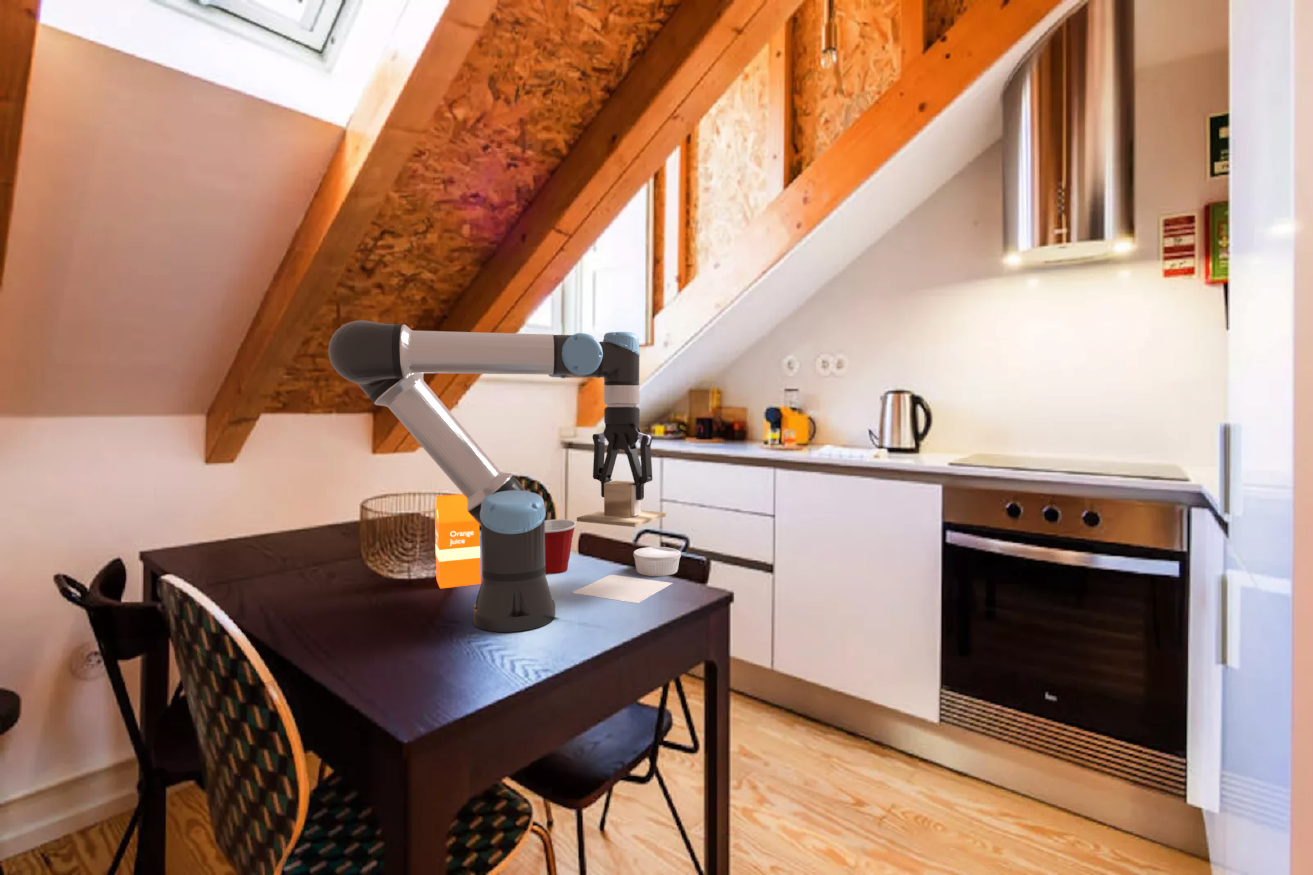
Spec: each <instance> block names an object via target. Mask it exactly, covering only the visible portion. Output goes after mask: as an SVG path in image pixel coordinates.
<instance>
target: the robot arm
mask: <svg viewBox="0 0 1313 875" xmlns="http://www.w3.org/2000/svg"><path fill="white" fill-rule="evenodd" d="M640 356H641V354H640V342H639V336H638V335H637V334H636V333H634V332H631V331H630V332H629V331H610V332H609V331H608V332H606V333H605V334H604V336H603V340H602V341H598V339H597V338H595V336H593V335H591V334H588V333H580V332H578V333H575V334H554V333H553V334H546V333H544V334H543V333H515V332H512V333H510V332H482V331H481V332H479V331H478V332H476V331H475V332H474V331H473V332H472V331H469V332H468V331H444V330H443V331H439V330H412V329H411V328H410V327H409V326H408V325H407V324H398V323H397V324H396V323H393V324H392V323H383V322H377V321H371V320H362V319H361V320H354V321H353V320H352V321H350V322H347V323H345V324H343V325H341V326H340V327H339V328H338V329H336V331H335V332H334V333H333V334H332V336H331V338H330V340H329V342H328V358H329V359H328V360H329V361H330V364H331V366H332V368H333V369H334V370H335V372H336V373H337V374H338V375H339V376H341V377H342V378H343V379H345V380H347V381H348V382H351V383H353V384H357V386H358V387H359V388H360V390H362V391H363V392H364V394H365V395H366V396H367V397H368V398H369V399H370V400H371V402H372V403H373V404H374V405H376V406H381V407H387V408H388V409H389V410H390V411H391V413H392V414H393V415H394V417H396V418H397V420H399V422H400V423H401V424H402V425H403V426H404V427H405V429H406V430H407V431H408V432H409V434H410V435H411V436H412V438H414V439H415V440H416V441H417V443H418V444H419V445H420V447H422V448H423V449H424V450H425V452H426V453H427V455H428V456H430V458H431V459H432V460H433V461H434V462H435V463H436V465H437V466H438V467H439V468H440V469H441V471H443V473H444V475H446V476H447V477H448V479H449V480H450V481H451V482H452V483H453V484H454V485H455V486H456V488H457V489H458V490H459V491H460V492H461V493H462V494H463V495H464V496H465V497H466V498H467V511H468V512H469V513H470V514H471V516H472V517H473V518H474V519H475V520H476V521H477V523H478V524H479V527H480V528H481V529H480V530H481V532H480V534H481V538H480V542H481V584H480V586H479V590H478V593H477V598H476V602H475V604H474V606H473V610H472V619H473V620H472V622H473V624H474V626H476V627H477V628H479V629H481V630H484V631H489V632H500V633H501V632H502V633H509V632H513V633H514V632H523V631H529V630H533V629H536V628H539V627H540V628H541V627H544V626H545V625H548V624H550V623H551V622H552V621H554V620H555V618H556V603H555V601H554V598H553V596H552V592H551V588H550V585H549V583H548V579H547V576H546V574H545V521H546V514H547V513H546V512H547V511H546V510H547V509H546V507H545V500H544V498H543V497H542V496H541V495H540V494H538V493H536V492H532V491H529V490H526V489H525V487H524V486H523V484H522V483H520V481H519V480H518V479H517V478H516V477H515V475H514V474H513V473H511V472H502V471H501V470H500V469H499V468H498V467H497V466H496V464H495V463H494V462H493V461H492V460H491V458H490V457H488V455H487V454H486V452H484V450H483V449H482V448H481V447H480V446H479V445H478V443H477V442H476V441H475V440H474V439H473V437H471V435H470V434H469V433H468V431H467V430H466V429H465V427H463V426H462V424H461V423H460V422H459V420H457V419H456V417H455V416H454V415H453V414H452V412H451V411H450V410H449V408H448V407H446V405H445V404H444V403H443V401H442V400H441V399H440V398H439V396H437V394H436V393H435V392H434V391H433V390H432V388H431V387H430V386H429V385H428V384H427V382H425V381H424V379H425V378H424V374H459V375H460V374H461V375H463V374H468V375H469V374H471V375H473V374H474V375H476V374H478V375H479V374H481V375H483V374H484V375H548V376H549V377H550V378H561V379H566V378H567V379H568V378H570V379H571V378H572V379H573V378H574V379H575V378H577V379H579V378H596V379H600V378H602V379H603V386H604V387H603V403H604V405H606V406H605V407H604V410H603V413H604V414H603V418H604V419H603V421H604V424H605V426H604V430H603V432H601V433H593V434H592V440H593V445H594V446H593V447H594V449H593V467H592V468H593V469H592V478H593V480H597V481H599V483H600V496H601V498H604V483H607V482H612V481H613V479H612V476H613V475H612V474H613V471H614V468H615V464H616V460H617V457H618V453H619V452H620V450H622V451H624V454H625V455H626V457H627V460H628V464H629V468H630V471H631V475H632V479H633V482H635V483H633V485H631V516H637V515H640V514H641V503H642V502H641V501H643V500H644V497H645V489H644V488H645V485H646V483H650V482H652V481H653V464H652V447H651V446H652V443H653V442H652V441H653V435H652V434H645V433H642V431H641V430H640V427H639V426H640V423H641V422H640V420H641V419H640V418H641V416H640V408H639V406H637V405H639V404H640ZM606 441H607V446H606ZM637 442H639V445H640V446H639V450H638V446H637ZM638 451H639V452H640V453H639V454H640V457H639V454H638ZM605 453H606V454H605ZM605 455H606V456H605ZM639 458H640V459H639Z"/></svg>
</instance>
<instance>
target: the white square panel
mask: <svg viewBox="0 0 1313 875" xmlns="http://www.w3.org/2000/svg"><path fill="white" fill-rule="evenodd" d="M671 585H673V582H670V581H669V582H667V581H660V580H653V579H645V578H638V577H634V576H633V577H631V576H625V575H619V574H618V575H617V574H609V575H606V576H605V577H602V578H600V579H598V580H596V581H594V582H591V583H589V584H587V585H585V586H583V587H580V588H578V589H576V590H574V591H571V594H577V595H583V596H590V597H597V598H600V599H601V598H603V599H608V600H615V601H620V602H628V603H633V604H639V603H641V602H643V601H644V600H646V599H648V598H650V597H652V596H653V595H655V594H657V593H659V592H660V591H662V590H664V589H666V588H667V587H669V586H671Z"/></svg>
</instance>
